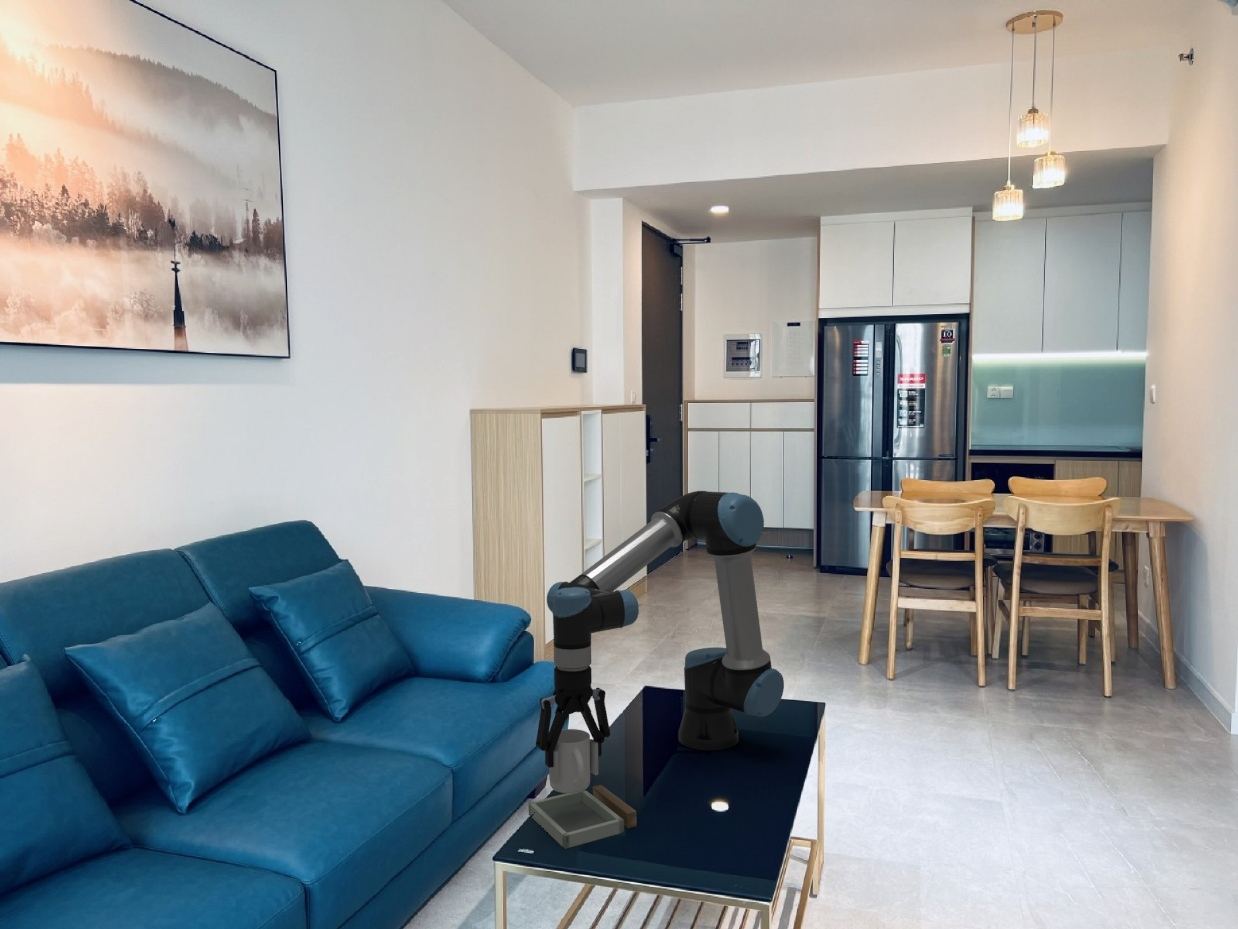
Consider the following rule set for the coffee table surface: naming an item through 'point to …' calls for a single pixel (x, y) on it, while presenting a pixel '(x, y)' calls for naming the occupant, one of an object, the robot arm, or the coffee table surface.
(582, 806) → the frame
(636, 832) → the coffee table surface
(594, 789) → the edge rail
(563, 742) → the mug
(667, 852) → the coffee table surface
